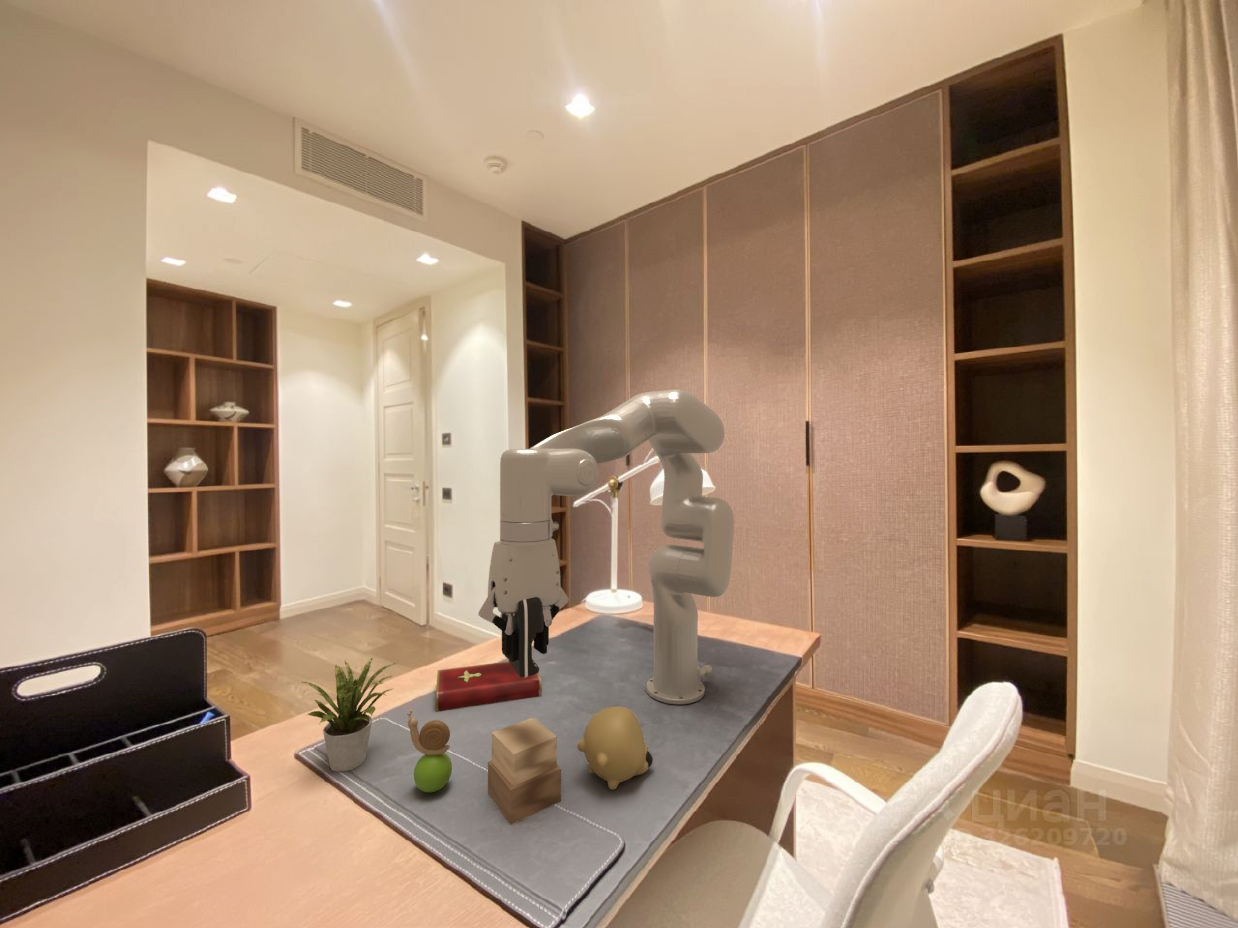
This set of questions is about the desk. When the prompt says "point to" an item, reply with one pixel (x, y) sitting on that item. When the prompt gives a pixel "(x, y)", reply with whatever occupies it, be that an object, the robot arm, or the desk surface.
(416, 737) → the snail figurine
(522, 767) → the oak block
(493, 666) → the hardcover book
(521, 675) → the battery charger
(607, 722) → the toy pig
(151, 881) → the desk surface
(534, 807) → the walnut block
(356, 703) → the house plant
